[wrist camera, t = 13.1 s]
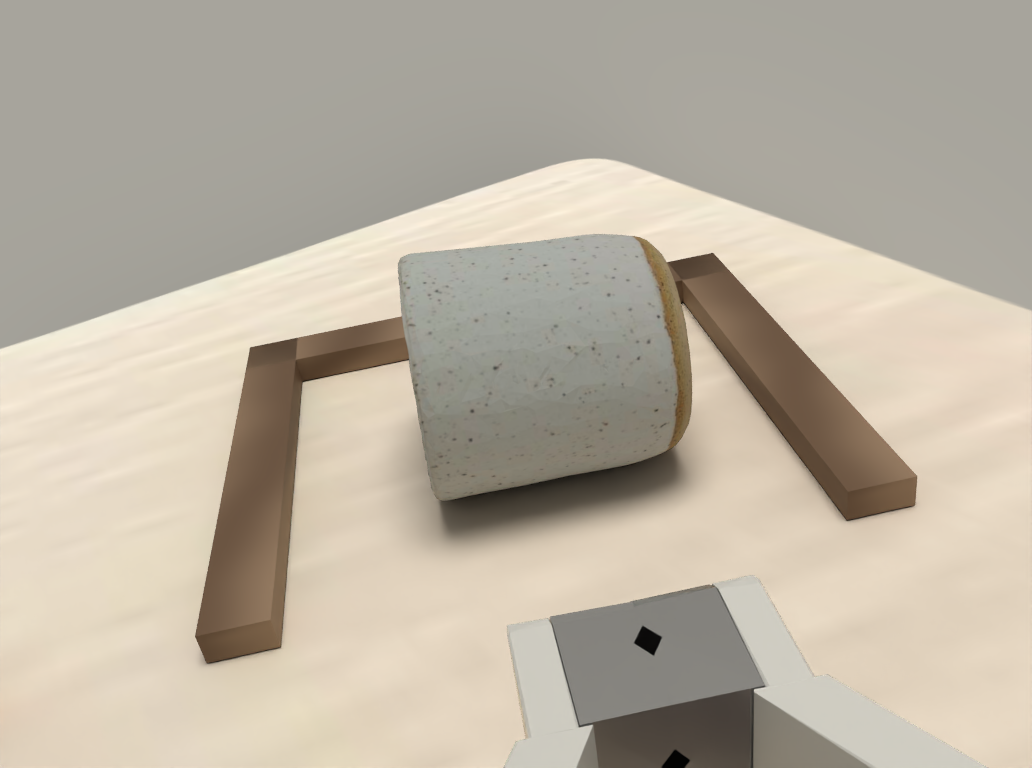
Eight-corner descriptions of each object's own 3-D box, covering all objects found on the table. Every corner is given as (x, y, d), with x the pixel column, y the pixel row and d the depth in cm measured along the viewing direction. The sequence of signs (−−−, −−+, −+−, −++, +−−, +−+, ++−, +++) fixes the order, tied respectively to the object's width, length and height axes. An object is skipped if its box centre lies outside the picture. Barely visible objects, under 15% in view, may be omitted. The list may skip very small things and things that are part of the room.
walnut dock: (206, 663, 26) (195, 636, 25) (257, 368, 40) (250, 347, 40) (914, 504, 27) (917, 476, 26) (714, 274, 42) (713, 252, 41)
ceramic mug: (712, 496, 29) (698, 258, 25) (444, 553, 28) (388, 320, 25) (626, 343, 38) (606, 153, 34) (422, 385, 38) (379, 197, 34)
